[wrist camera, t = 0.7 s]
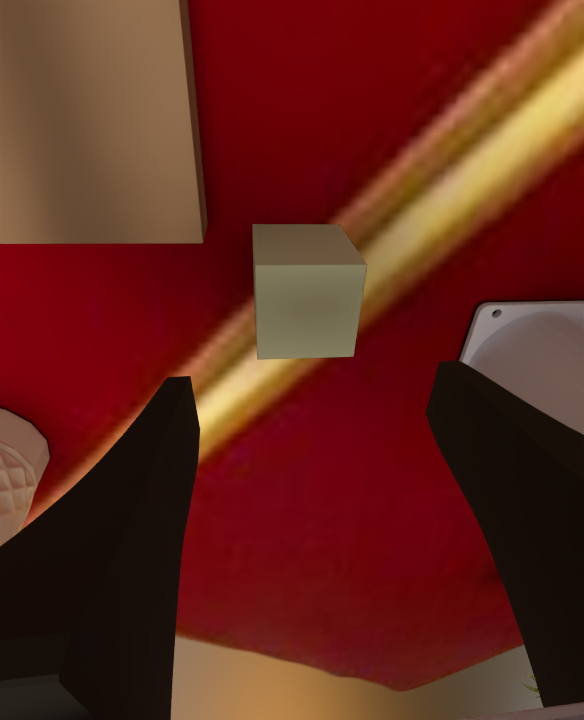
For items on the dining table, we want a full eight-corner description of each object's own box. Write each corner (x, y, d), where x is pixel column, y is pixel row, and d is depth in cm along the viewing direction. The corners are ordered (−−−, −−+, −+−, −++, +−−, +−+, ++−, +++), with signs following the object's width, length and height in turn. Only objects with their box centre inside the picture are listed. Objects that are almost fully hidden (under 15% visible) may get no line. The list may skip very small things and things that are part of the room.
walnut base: (186, -23, 13) (173, -47, 11) (208, 221, 18) (202, 243, 15) (-74, -40, 12) (-152, -71, 10) (20, 220, 17) (-18, 243, 14)
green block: (339, 224, 18) (367, 264, 14) (331, 302, 20) (353, 356, 16) (252, 223, 18) (255, 265, 14) (254, 303, 20) (257, 359, 16)
